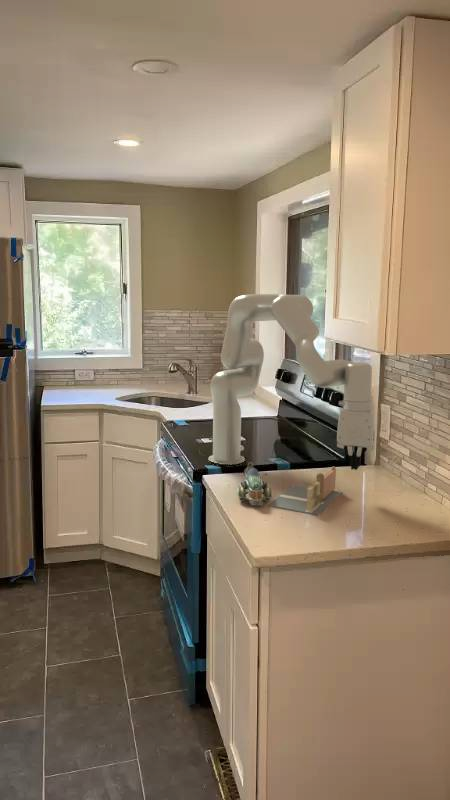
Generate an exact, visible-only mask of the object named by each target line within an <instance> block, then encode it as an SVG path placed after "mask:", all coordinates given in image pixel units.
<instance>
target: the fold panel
mask: <svg viewBox="0 0 450 800" xmlns="http://www.w3.org/2000/svg"><path fill="white" fill-rule="evenodd" d="M323 475H324V479H323V499H324V498H325V497H326V496H327V495H329V494H330V493H331V492H332V491H335V490H336V480H337V478H336V476H337V468H336V466H331V469H330V470H329V471H328V472H327V473H325V474H323Z"/></svg>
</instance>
